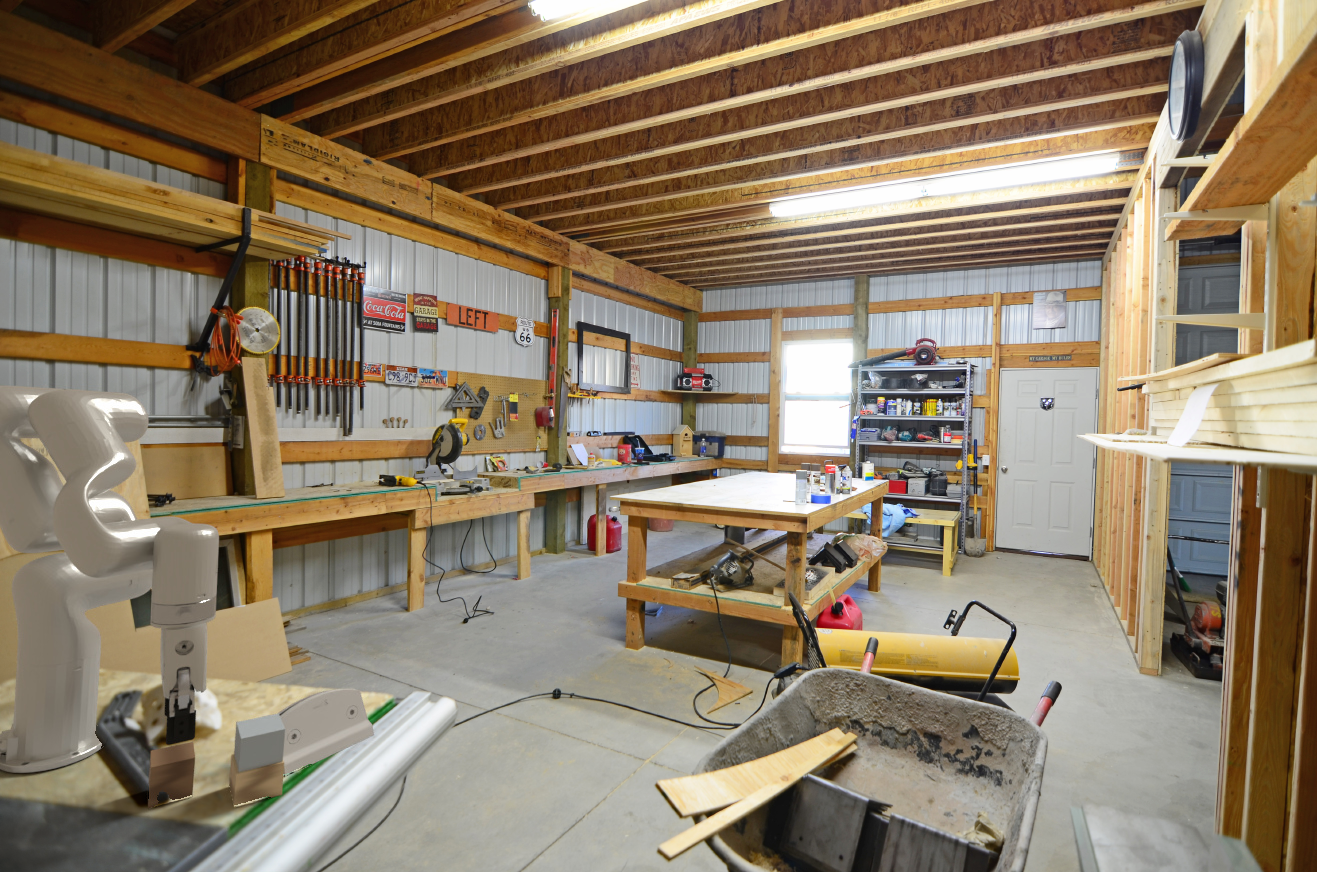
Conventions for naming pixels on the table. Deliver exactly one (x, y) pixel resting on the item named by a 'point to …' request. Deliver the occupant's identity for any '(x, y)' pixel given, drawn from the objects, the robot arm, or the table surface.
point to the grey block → (259, 742)
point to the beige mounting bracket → (323, 726)
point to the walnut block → (171, 772)
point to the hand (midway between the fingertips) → (179, 726)
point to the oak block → (255, 782)
